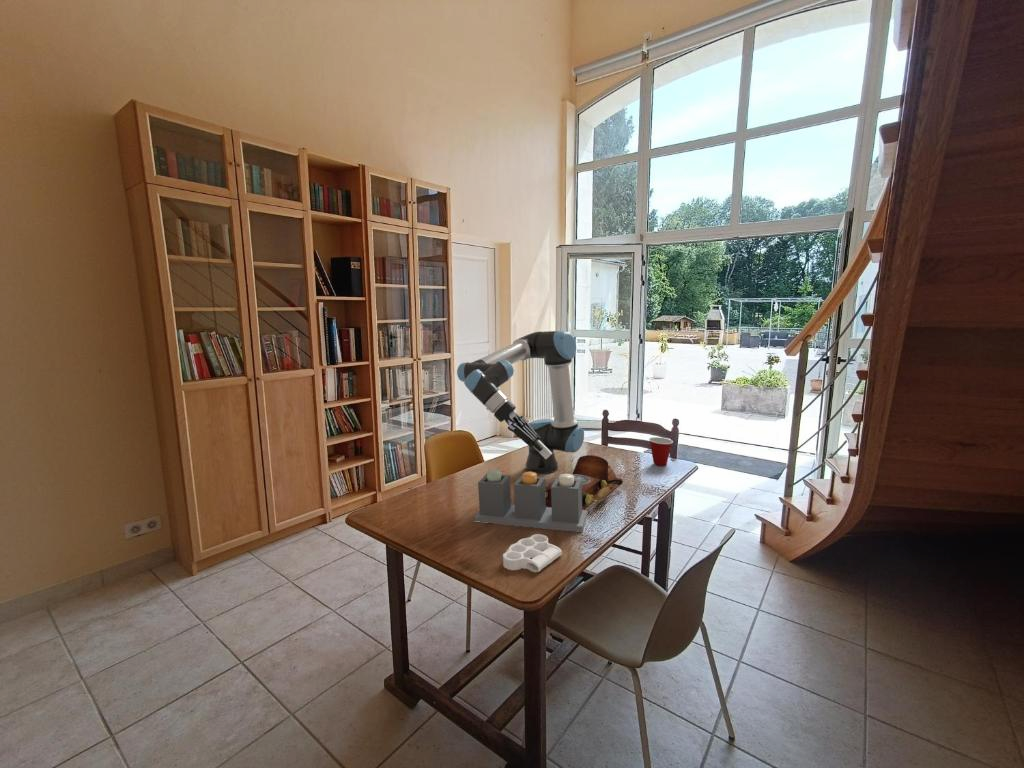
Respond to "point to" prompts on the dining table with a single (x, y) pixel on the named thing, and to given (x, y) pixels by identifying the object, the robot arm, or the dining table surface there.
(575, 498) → the button stand
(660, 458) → the plastic cup
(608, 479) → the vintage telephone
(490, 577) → the dining table surface
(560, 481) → the cream button
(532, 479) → the orange button
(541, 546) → the white brass knuckles
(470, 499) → the dining table surface
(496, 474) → the sage button
